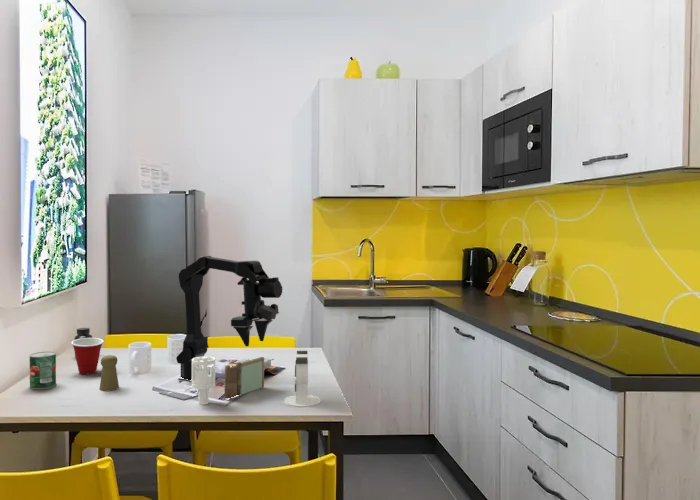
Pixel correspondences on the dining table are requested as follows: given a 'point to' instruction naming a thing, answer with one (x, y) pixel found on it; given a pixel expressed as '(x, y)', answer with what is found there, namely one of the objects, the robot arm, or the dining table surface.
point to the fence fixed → (232, 380)
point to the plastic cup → (87, 354)
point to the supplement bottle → (83, 334)
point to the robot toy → (266, 361)
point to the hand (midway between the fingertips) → (254, 343)
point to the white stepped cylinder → (203, 377)
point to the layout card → (176, 395)
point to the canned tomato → (42, 370)
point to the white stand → (301, 384)
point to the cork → (109, 373)
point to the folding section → (252, 375)
